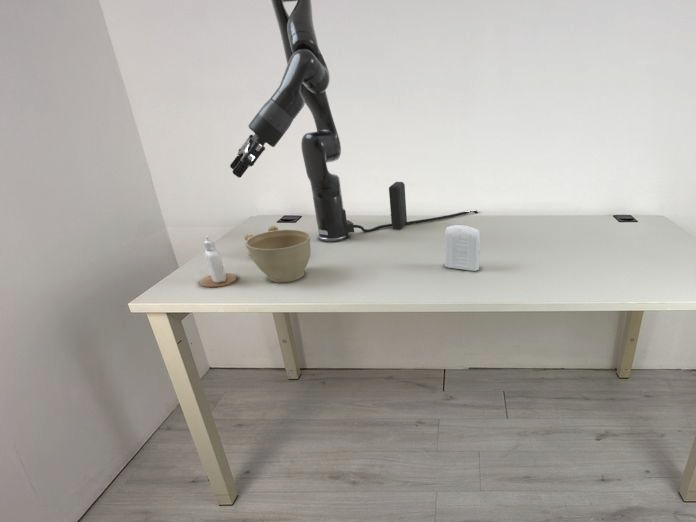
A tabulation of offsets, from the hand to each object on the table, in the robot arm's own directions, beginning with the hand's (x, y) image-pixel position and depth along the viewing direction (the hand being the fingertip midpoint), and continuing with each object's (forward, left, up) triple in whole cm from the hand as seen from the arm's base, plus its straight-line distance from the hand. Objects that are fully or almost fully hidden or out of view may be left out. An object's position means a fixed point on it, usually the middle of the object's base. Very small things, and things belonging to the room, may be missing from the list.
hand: (234, 172), depth 124 cm
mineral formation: (-5, -8, -27) cm, 28 cm away
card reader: (-51, -20, -27) cm, 61 cm away
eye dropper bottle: (+10, +7, -26) cm, 29 cm away
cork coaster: (+11, +7, -26) cm, 29 cm away
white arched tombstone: (-53, +28, -27) cm, 66 cm away
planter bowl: (-6, +12, -27) cm, 30 cm away
